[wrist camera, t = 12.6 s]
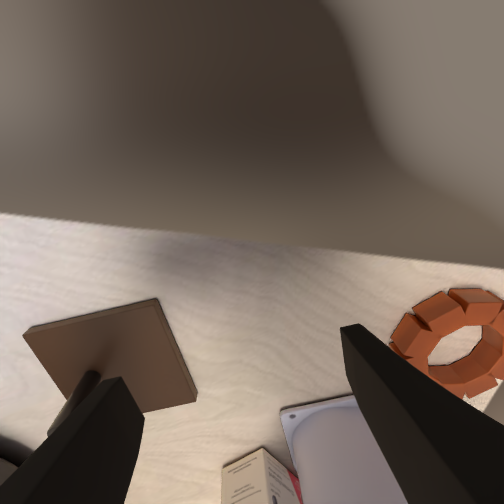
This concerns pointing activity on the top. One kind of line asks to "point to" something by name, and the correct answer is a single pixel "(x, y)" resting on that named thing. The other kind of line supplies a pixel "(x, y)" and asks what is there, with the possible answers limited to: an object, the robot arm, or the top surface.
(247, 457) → the ink box
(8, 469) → the planter
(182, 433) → the top surface
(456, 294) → the ring
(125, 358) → the post stand
